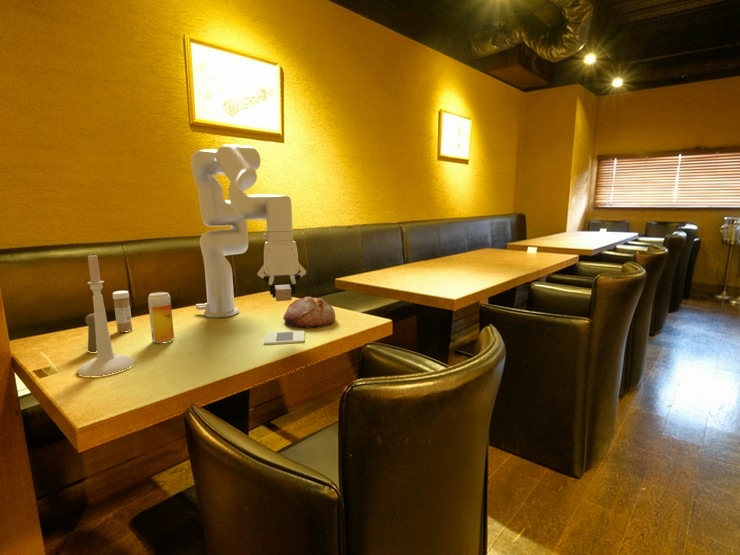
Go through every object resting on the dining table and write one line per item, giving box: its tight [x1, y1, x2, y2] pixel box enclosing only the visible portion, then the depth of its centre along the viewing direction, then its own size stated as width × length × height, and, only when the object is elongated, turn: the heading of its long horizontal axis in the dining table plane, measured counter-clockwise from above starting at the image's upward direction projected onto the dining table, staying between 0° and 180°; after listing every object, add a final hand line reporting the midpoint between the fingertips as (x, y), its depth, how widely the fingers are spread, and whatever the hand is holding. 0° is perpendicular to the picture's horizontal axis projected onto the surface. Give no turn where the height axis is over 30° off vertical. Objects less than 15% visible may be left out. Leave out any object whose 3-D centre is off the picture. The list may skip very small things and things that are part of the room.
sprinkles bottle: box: [112, 290, 133, 333], centre depth 141 cm, size 5×5×13 cm
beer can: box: [147, 291, 175, 344], centre depth 131 cm, size 6×6×15 cm
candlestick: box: [76, 253, 136, 377], centre depth 109 cm, size 13×13×30 cm
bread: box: [283, 296, 337, 329], centre depth 150 cm, size 16×20×10 cm
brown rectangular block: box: [274, 284, 293, 302], centre depth 131 cm, size 7×4×4 cm, turn 15°
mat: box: [263, 330, 305, 346], centre depth 133 cm, size 12×10×1 cm
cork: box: [85, 312, 108, 352], centre depth 124 cm, size 6×6×11 cm
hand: (283, 295), depth 131 cm, fingers closed on brown rectangular block, 4 cm apart
